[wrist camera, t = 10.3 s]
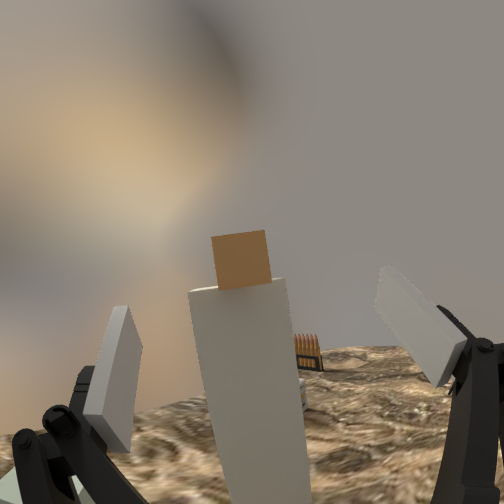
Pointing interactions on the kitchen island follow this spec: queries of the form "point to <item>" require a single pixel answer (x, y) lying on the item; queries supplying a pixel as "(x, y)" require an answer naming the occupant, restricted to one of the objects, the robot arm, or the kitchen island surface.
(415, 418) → the kitchen island surface
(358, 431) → the kitchen island surface
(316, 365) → the ammunition clip
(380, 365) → the kitchen island surface
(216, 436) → the post
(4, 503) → the pale green tall block
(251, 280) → the bar
